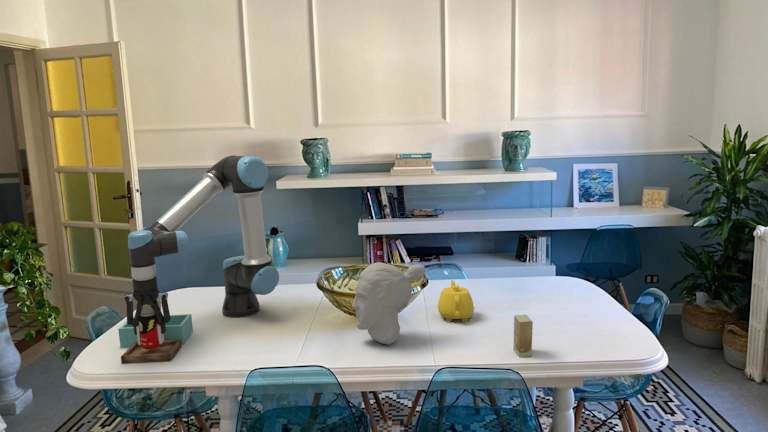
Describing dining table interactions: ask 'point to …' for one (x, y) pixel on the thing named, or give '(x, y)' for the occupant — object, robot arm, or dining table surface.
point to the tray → (151, 353)
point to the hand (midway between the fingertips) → (151, 342)
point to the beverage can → (149, 330)
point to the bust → (383, 299)
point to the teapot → (455, 303)
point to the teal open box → (175, 330)
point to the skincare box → (523, 335)
